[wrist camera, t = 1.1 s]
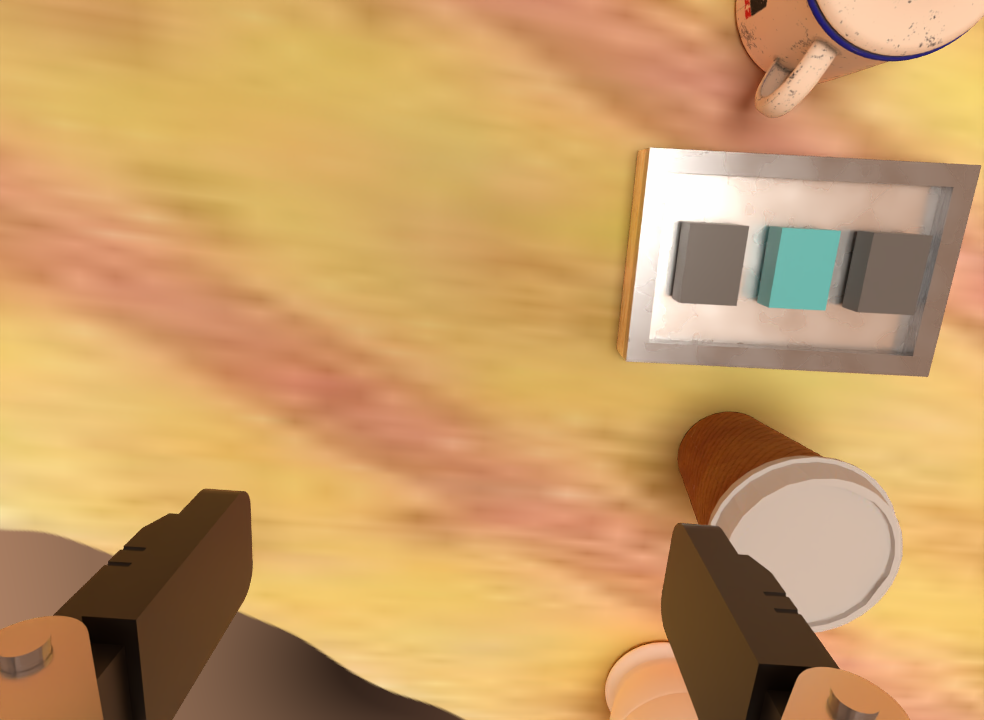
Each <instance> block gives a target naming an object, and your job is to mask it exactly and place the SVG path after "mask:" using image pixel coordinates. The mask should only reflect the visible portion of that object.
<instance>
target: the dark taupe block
mask: <svg viewBox="0 0 984 720" xmlns="http://www.w3.org/2000/svg"><path fill="white" fill-rule="evenodd" d="M932 237H933V236H932V235H922V234H912V233H893V232H874V231H857V236H856V241H855V246H854V251H853V255H852V260H851V265H850V270H849V275H848V280H847V285H846V289H845V294H844V299H843V304H842V307H843V308H846V309H849V310H852V311H855V312H861V313H880V314H900V315H914V313H915V309H916V304H917V300H918V296H919V292H920V288H921V283H922V279H923V275H924V271H925V267H926V263H927V258H928V254H929V250H930V246H931V242H932Z"/></svg>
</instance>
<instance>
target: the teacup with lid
mask: <svg viewBox="0 0 984 720" xmlns="http://www.w3.org/2000/svg"><path fill="white" fill-rule="evenodd" d="M983 16H984V0H736V17H737V25H738V30H739V34H740V37H741V40H742V42H743V45H744V47H745V49H746V51H747V52H748V54H749V55H750V57H751V58H752V59H753V61H754V62H755V63H756V64H757V65H758V66H759V67H760V68H761V69H762V70H764V71H765V72H766V74H765V75H764V77H763V79H762V81H761V82H760V84H759V86H758V89H757V91H756V95H755V107H756V108H757V110H758V111H759V112H761V113H762V114H764V115H765V116H767V117H770V118H776V117H780V116H782V115H784V114H786V113H788V112H789V111H790V110H792V109H793V108H794V107H795V106H797V105H798V104H799V103H800V102H801V101H802V100H803V99H804V98H805V97H806V96H807V95H808V93H809V92H810V91H811V90H812V89H813V88H814V86H815V85H816V84H817V83H822V82H826V81H829V80H833V79H836V78H839V77H842V76H845V75H848V74H851V73H854V72H857V71H860V70H863V69H866V68H869V67H873V66H876V65H879V64H882V63H885V62H888V61H903V60H909V59H914V58H918V57H921V56H925V55H928V54H930V53H933V52H935V51H937V50H939V49H941V48H943V47H945V46H947V45H949V44H950V43H952V42H953V41H955V40H957V39H958V38H959V37H961V36H962V35H963V34H965V33H966V32H967V31H968V30H969V29H971V28H972V27H973V26H974V25H975V24H976V23H977V22H978V21H979V20H980V19H981V18H982V17H983Z"/></svg>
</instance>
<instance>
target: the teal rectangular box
mask: <svg viewBox="0 0 984 720" xmlns="http://www.w3.org/2000/svg"><path fill="white" fill-rule="evenodd" d="M840 235H841V231H839V230H830V229H817V228H798V227H779V226H770V228H769V234H768V240H767V246H766V252H765V258H764V264H763V270H762V276H761V282H760V288H759V293H758V299H757V303H759V304H761V305H763V306H766V307H768V308H784V309H803V310H822V311H825V310H826V305H827V300H828V295H829V290H830V285H831V280H832V275H833V270H834V265H835V260H836V255H837V250H838V245H839V240H840Z"/></svg>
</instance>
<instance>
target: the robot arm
mask: <svg viewBox="0 0 984 720" xmlns="http://www.w3.org/2000/svg"><path fill="white" fill-rule="evenodd" d="M252 568H253V560H252V532H251V506H250V498H249V495H248V493H247V492H245V491H231V490H217V489H203V490H202V491H200V492H199V493H198V494H197V495H196V496H195V498H194V499H193V500H192V501H191V502H190V503H189V504H188V505H187V506H186V507H185V508H184V509H183V510H182V511H181V512H180V513H179V514H171V513H169V514H168V515H166V516H164V517H162V518H160V519H158V520H156V521H155V522H153V523H151V524H149V525H147V526H145V527H143V528H142V529H141V530H140V531H139V532H138V533H137V534H136V535H135V536H134V537H133V538H132V539H131V540H130V541H129V542H128V543H127V544H126V545H124V549H123V550H119V551H118V552H117V553H116V554H115V555H114V556H113V557H112V558H111V559H110V560H109V561H108V565H104V566H103V567H102V568H101V569H100V570H99V571H98V572H97V573H96V574H95V575H94V576H93V577H92V578H91V579H90V580H89V581H88V582H87V583H86V584H85V585H84V586H83V587H82V588H81V589H80V590H79V591H78V592H77V593H75V594H74V596H73V597H71V598H70V599H69V600H68V601H67V602H66V603H65V604H64V605H63V606H62V607H61V608H60V609H59V610H58V611H57V612H56V613H55V614H54V615H53V616H44V617H38V618H33V619H29V620H25V621H22V622H18V623H15V624H12V625H10V626H8V627H5V628H3V629H1V630H0V720H172V719H173V718H174V716H175V714H176V713H177V711H178V709H179V708H180V706H181V704H182V703H183V701H184V699H185V698H186V696H187V694H188V693H189V691H190V689H191V688H192V686H193V684H194V683H195V681H196V679H197V678H198V676H199V674H200V673H201V671H202V669H203V668H204V666H205V664H206V663H207V661H208V659H209V658H210V656H211V654H212V653H213V651H214V649H215V648H216V646H217V644H218V643H219V641H220V639H221V638H222V636H223V634H224V633H225V631H226V629H227V628H228V626H229V624H230V623H231V621H232V619H233V618H234V616H235V615H236V613H237V611H238V610H239V608H240V606H241V605H242V603H243V601H244V599H245V597H246V595H247V592H248V589H249V586H250V582H251V577H252ZM661 613H662V621H663V626H664V629H665V632H666V635H667V638H668V640H669V643H670V646H671V648H672V651H673V654H674V656H675V659H676V661H677V664H678V667H679V669H680V672H681V675H682V677H683V680H684V683H685V685H686V688H687V691H688V693H689V696H690V698H691V701H692V704H693V706H694V709H695V712H696V714H697V717H698V720H910V719H909V717H908V715H907V714H906V712H905V711H904V710H903V708H902V707H901V706H900V705H899V704H898V703H897V702H896V700H894V699H893V698H892V697H891V696H890V695H889V694H888V693H886V692H885V691H884V690H882V689H881V688H879V687H878V686H876V685H875V684H873V683H871V682H870V681H868V680H866V679H864V678H862V677H860V676H858V675H855V674H853V673H850V672H847V671H844V670H841V669H839V667H838V666H837V664H836V663H835V661H834V660H833V659H832V657H831V656H830V654H829V653H828V652H827V650H826V649H825V647H824V646H823V645H822V643H821V642H820V640H819V639H818V637H817V636H816V635H815V633H814V632H813V630H812V629H811V628H810V626H809V625H808V623H807V622H806V620H805V619H804V618H803V616H802V615H801V614H798V609H797V608H796V606H795V605H794V604H793V602H792V601H791V599H790V598H789V597H786V592H785V591H784V589H783V588H782V587H781V585H780V584H779V582H778V581H777V580H776V578H775V577H774V575H773V574H772V573H771V572H770V571H769V570H767V569H766V568H765V567H763V566H762V565H761V564H760V563H758V562H757V561H756V560H754V559H753V558H752V557H750V556H749V555H742V554H738V553H737V551H736V550H735V548H734V547H733V545H732V544H731V542H730V541H729V539H728V538H727V536H726V535H725V533H724V532H723V530H722V529H721V528H720V527H719V526H714V525H699V524H685V523H678V524H677V525H676V526H675V528H674V531H673V534H672V540H671V545H670V551H669V556H668V562H667V568H666V573H665V579H664V584H663V590H662V598H661Z"/></svg>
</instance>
